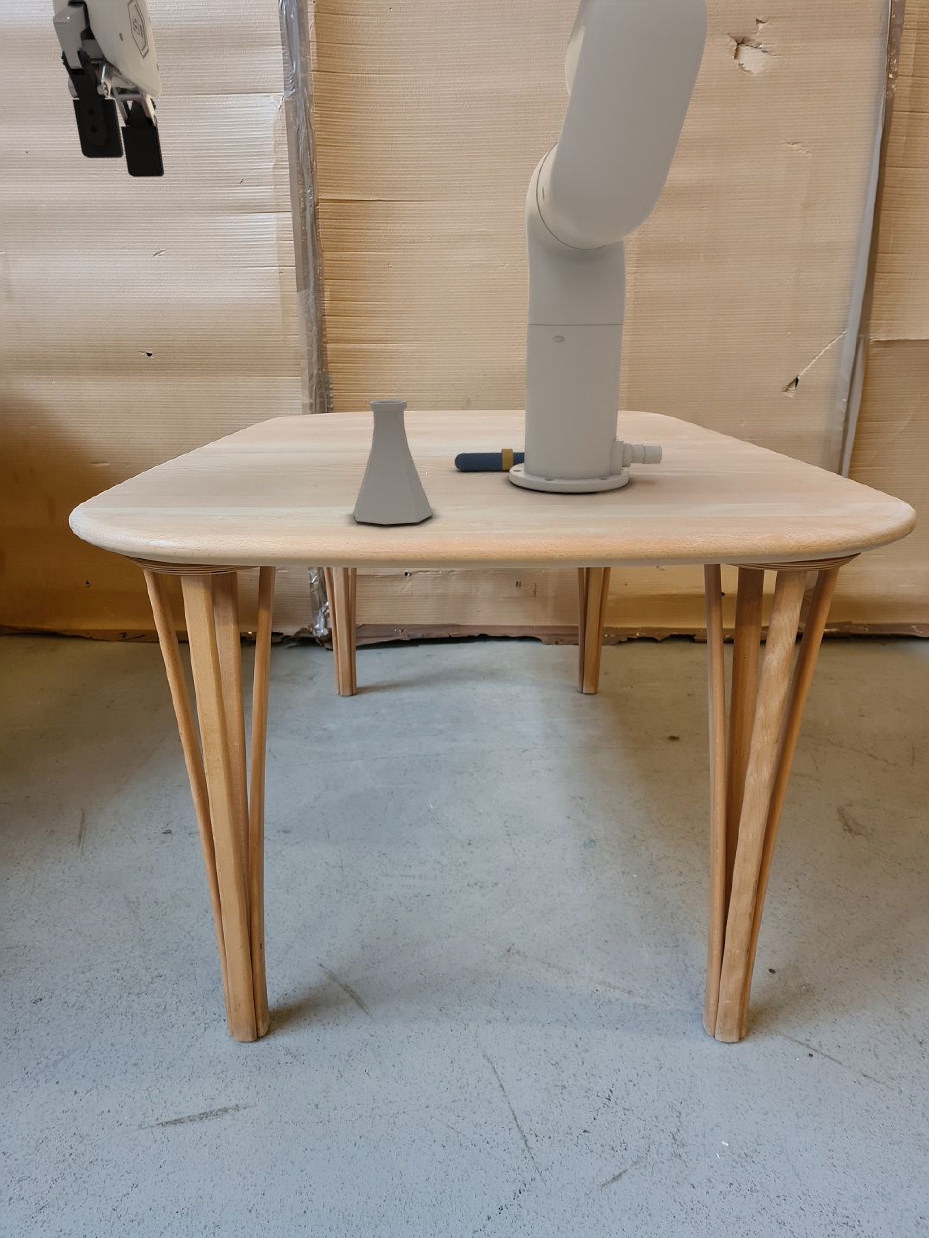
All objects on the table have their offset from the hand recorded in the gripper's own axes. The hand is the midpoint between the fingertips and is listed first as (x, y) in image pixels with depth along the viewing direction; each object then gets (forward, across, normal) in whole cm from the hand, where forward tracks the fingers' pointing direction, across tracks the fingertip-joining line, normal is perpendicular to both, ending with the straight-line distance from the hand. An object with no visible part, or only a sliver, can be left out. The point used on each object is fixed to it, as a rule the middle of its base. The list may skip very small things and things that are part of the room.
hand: (126, 167), depth 67 cm
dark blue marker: (+29, +9, -34) cm, 46 cm away
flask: (+29, -11, -23) cm, 39 cm away
